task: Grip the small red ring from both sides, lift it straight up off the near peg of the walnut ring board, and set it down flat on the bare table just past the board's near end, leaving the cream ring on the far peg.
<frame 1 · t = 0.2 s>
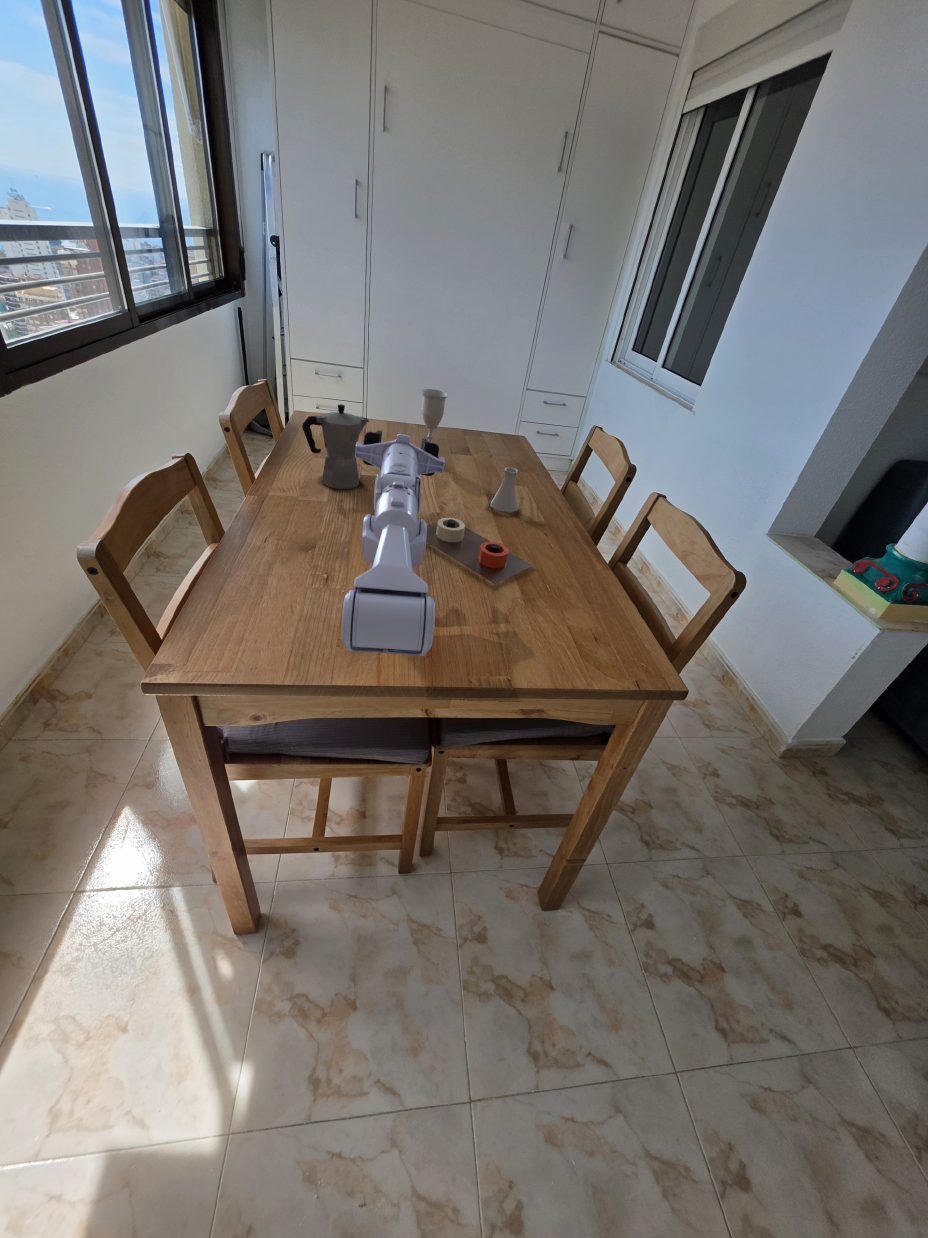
hand: (401, 439, 94), 21 cm above the table, tool horizontal, fingers open, 7 cm apart
ring board: (469, 552, 109), on the table
chalice: (427, 461, 149), on the table
red ring: (492, 560, 106), point 1 cm above the table, touching ring board
cream ring: (449, 535, 112), point 1 cm above the table, touching ring board
coffeepot: (336, 483, 128), on the table
flask: (503, 510, 129), on the table
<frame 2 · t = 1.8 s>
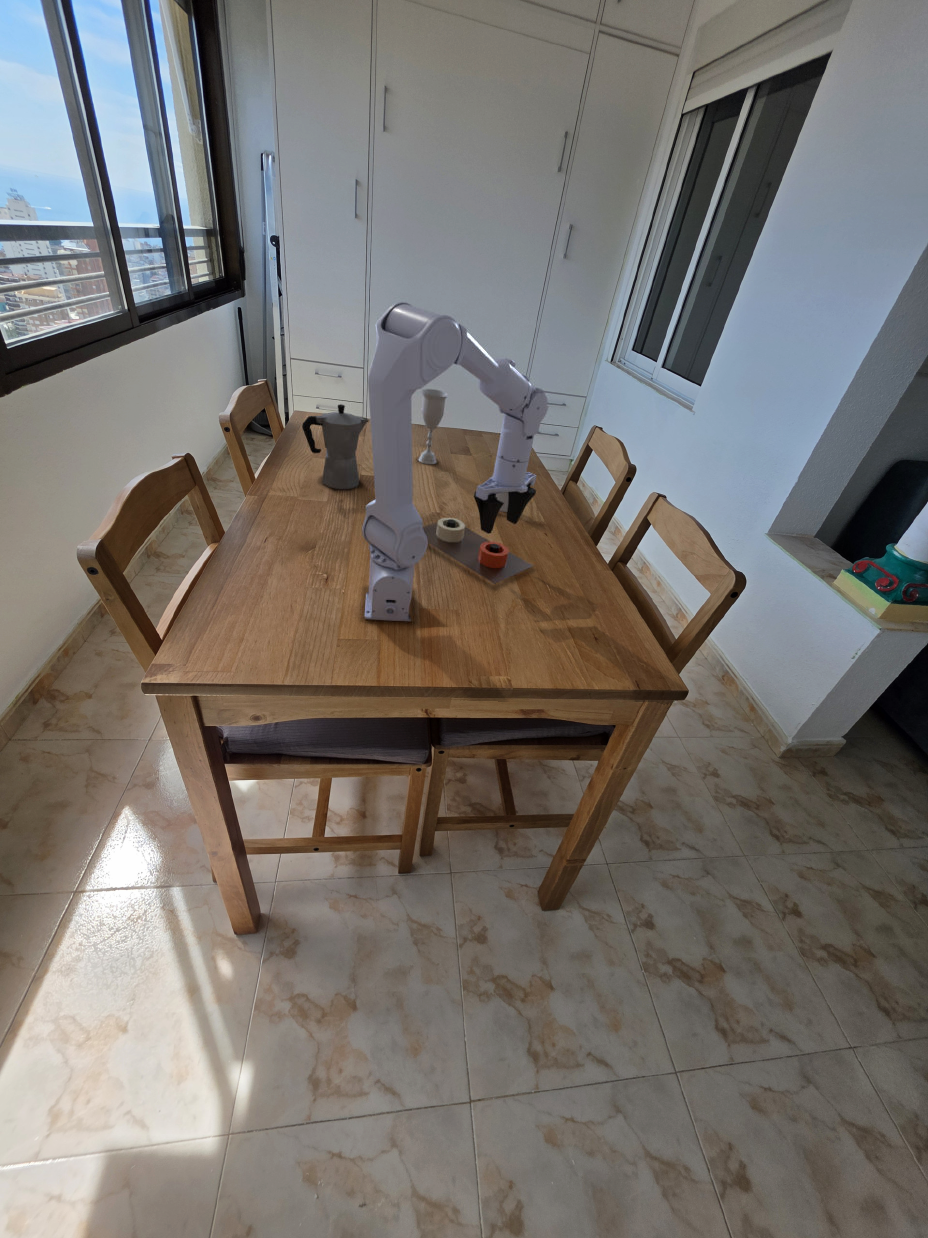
hand: (499, 526, 101), 9 cm above the table, tool pointing down, fingers open, 7 cm apart
nothing on the table moved.
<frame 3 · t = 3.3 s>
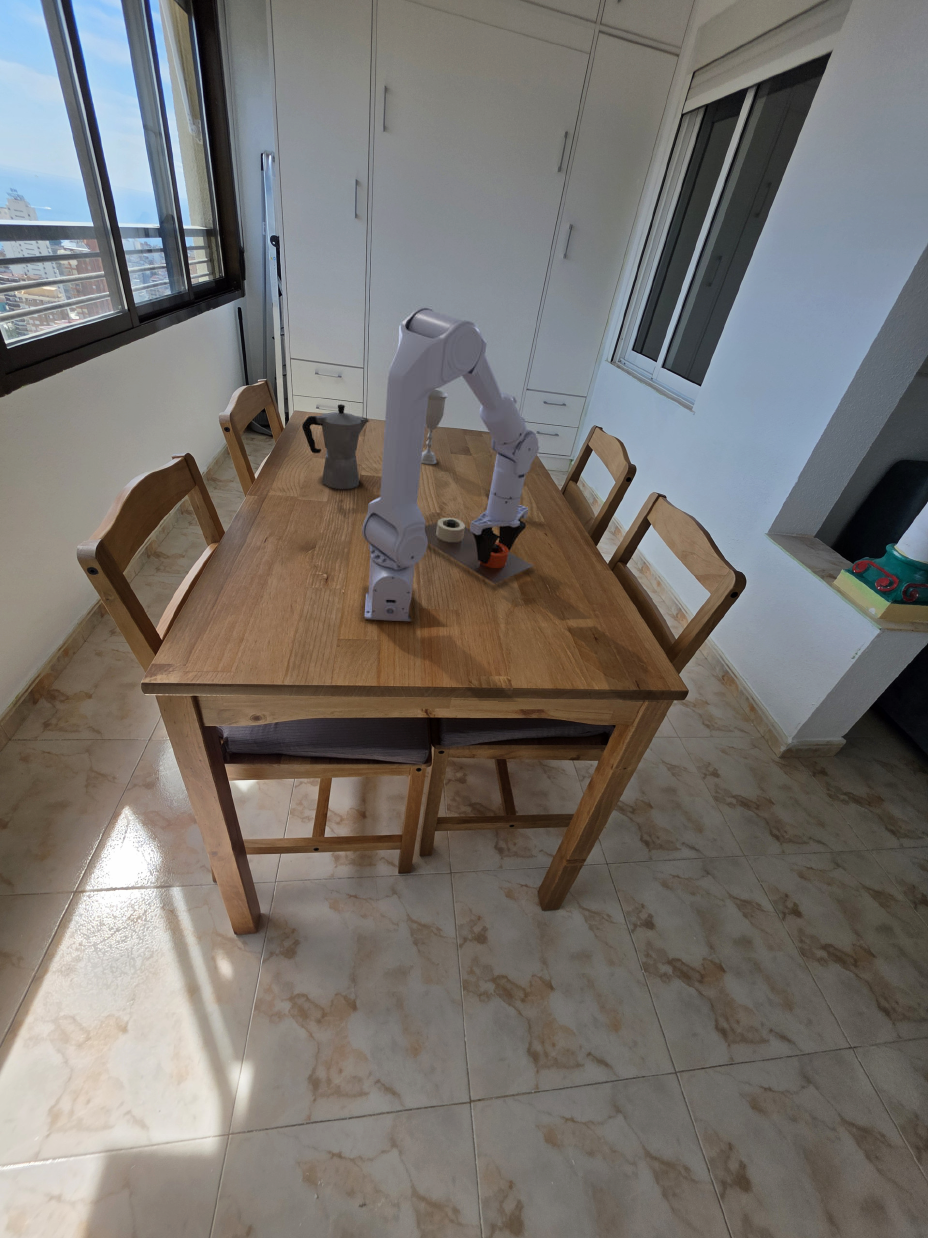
hand: (492, 557, 105), 2 cm above the table, tool pointing down, fingers closed on red ring, 5 cm apart
red ring: (492, 560, 106), point 1 cm above the table, touching gripper, ring board
everything else where it was.
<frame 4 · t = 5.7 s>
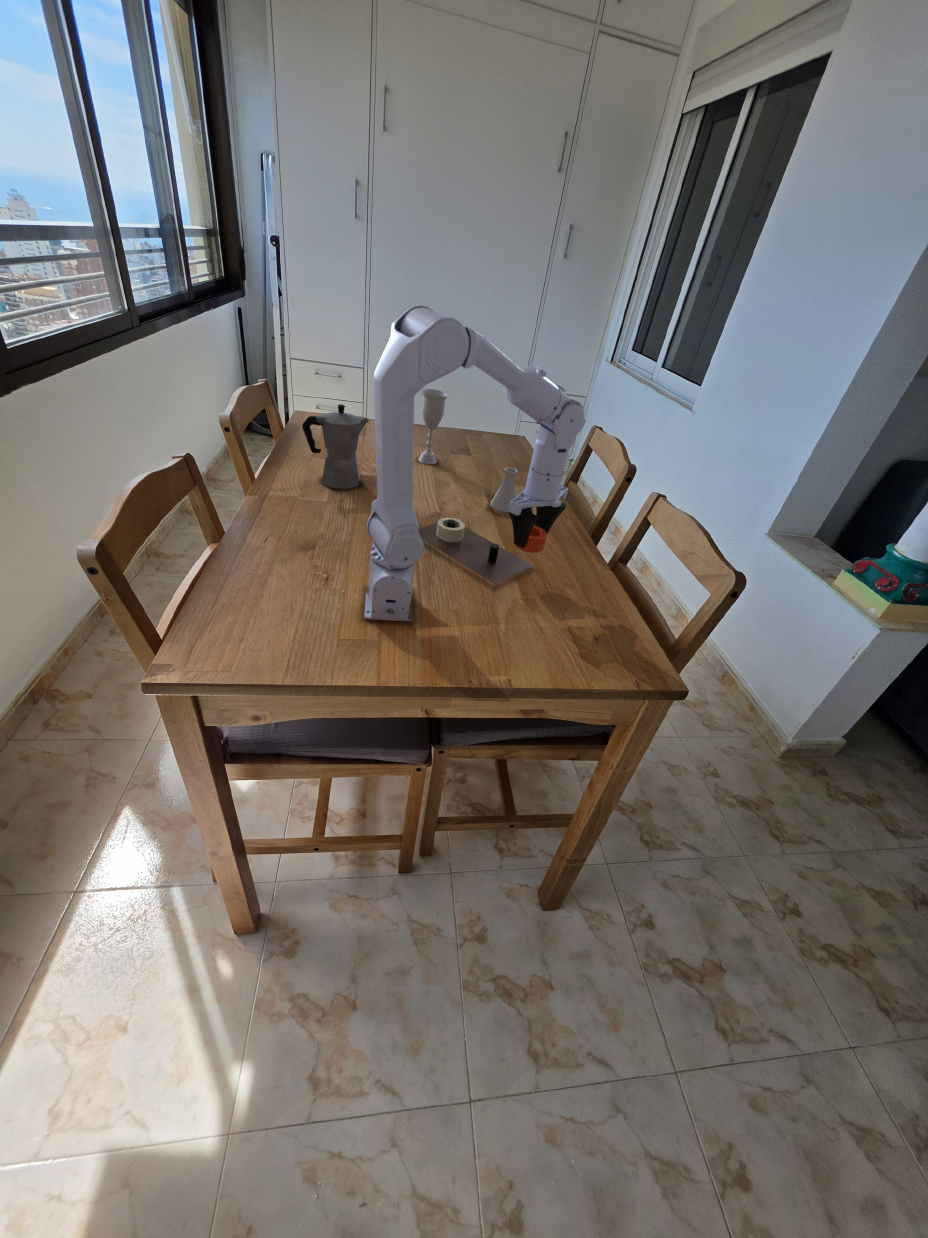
hand: (529, 541, 98), 9 cm above the table, tool pointing down, fingers closed on red ring, 5 cm apart
red ring: (528, 545, 98), point 8 cm above the table, touching gripper
everything else where it was.
when the fingers open (1 cm above the table, at t = 8.5 s): red ring stays where it is, on the table.
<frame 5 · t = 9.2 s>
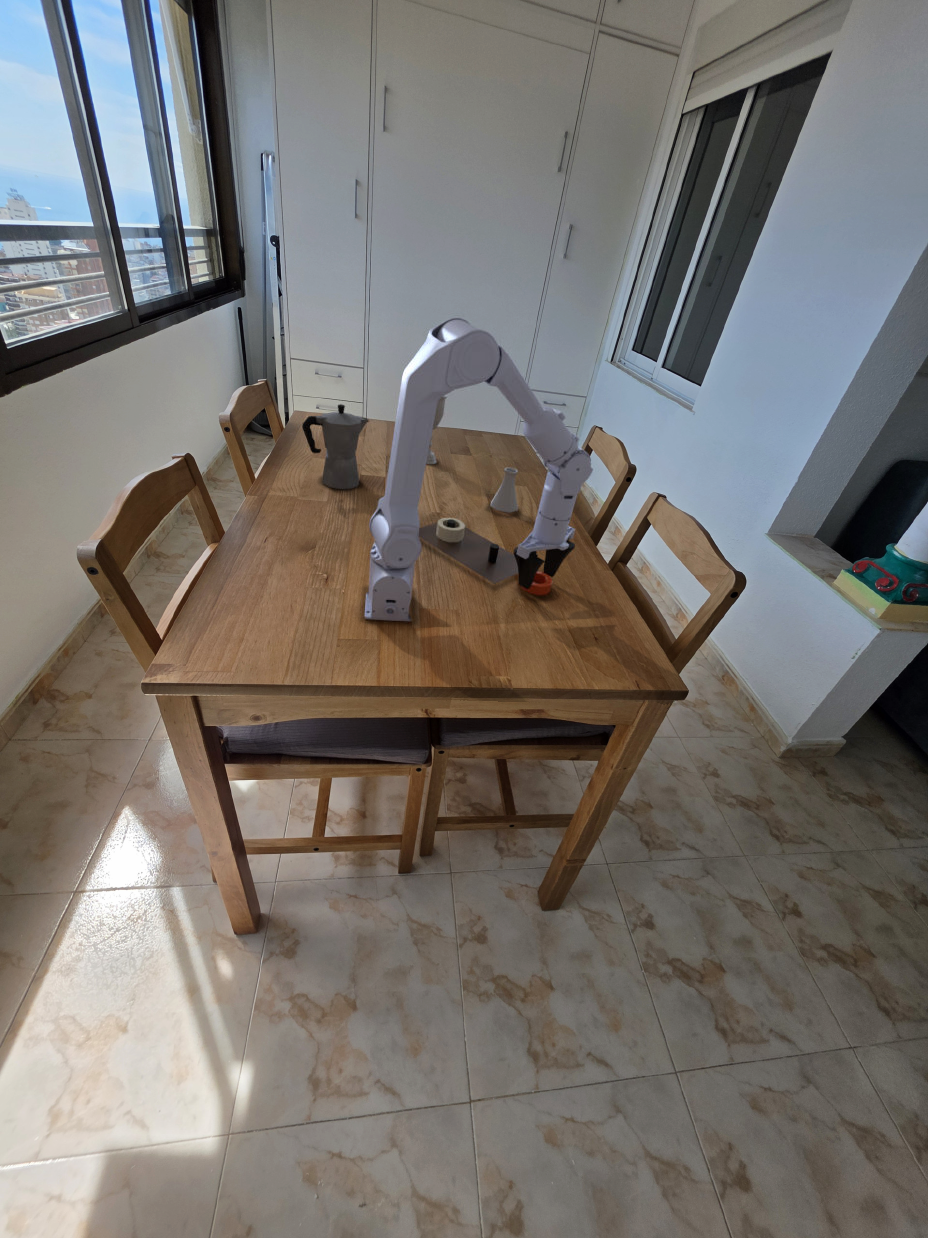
hand: (536, 580, 100), 2 cm above the table, tool pointing down, fingers open, 7 cm apart
red ring: (534, 590, 101), on the table
everything else where it was.
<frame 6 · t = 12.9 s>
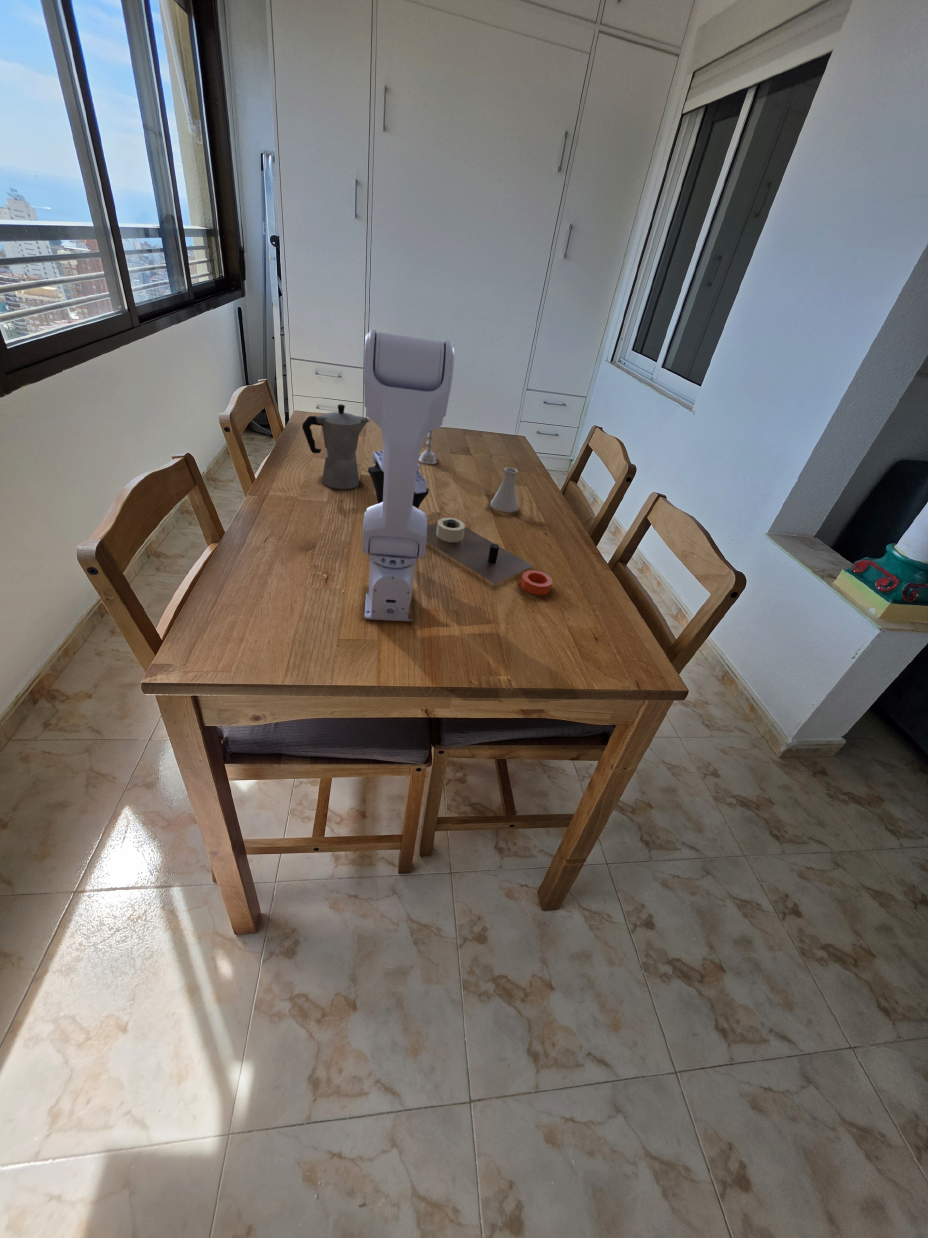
hand: (395, 514, 97), 9 cm above the table, tool pointing down, fingers open, 7 cm apart
nothing on the table moved.
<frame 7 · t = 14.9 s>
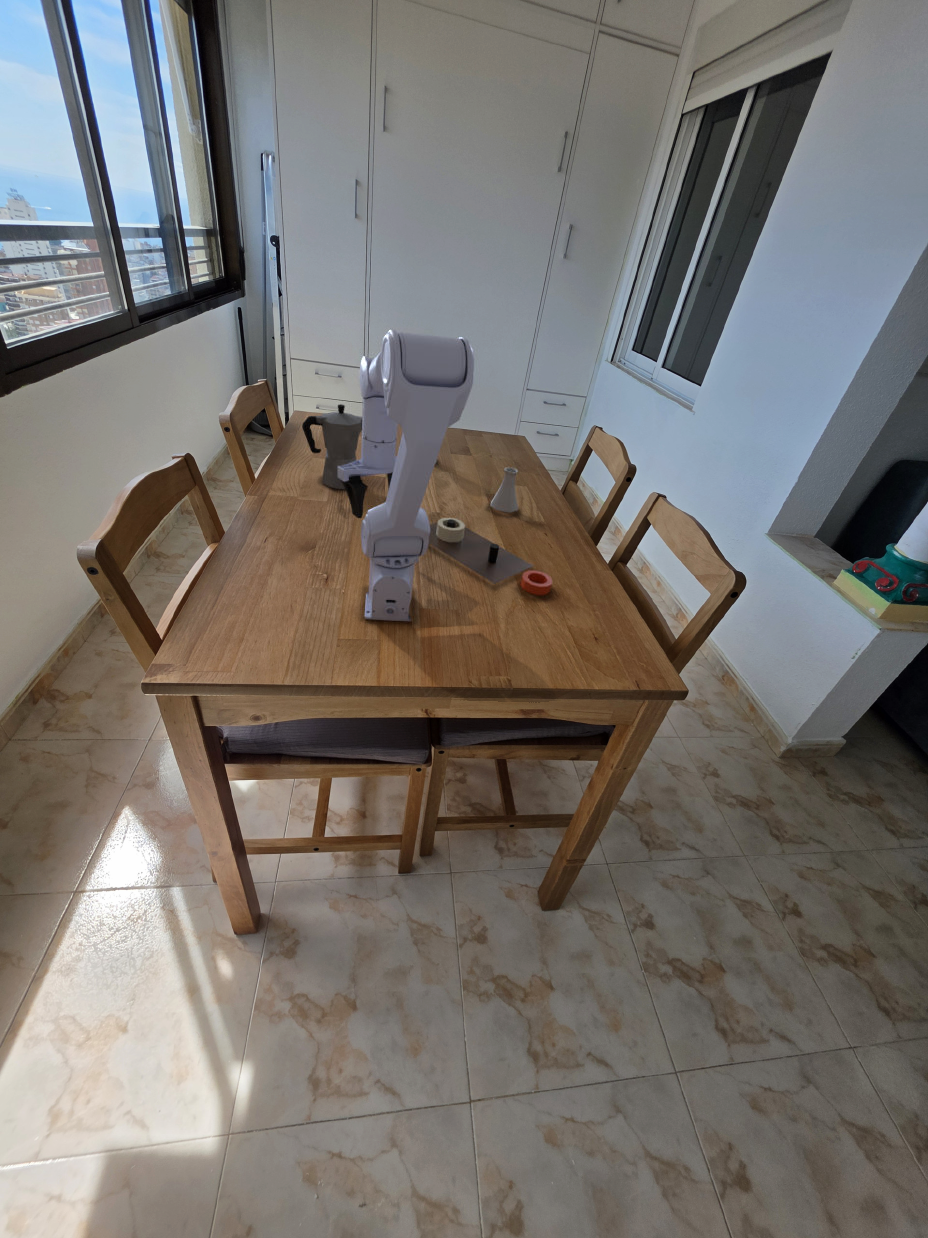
hand: (375, 512, 97), 9 cm above the table, tool pointing down, fingers open, 7 cm apart
nothing on the table moved.
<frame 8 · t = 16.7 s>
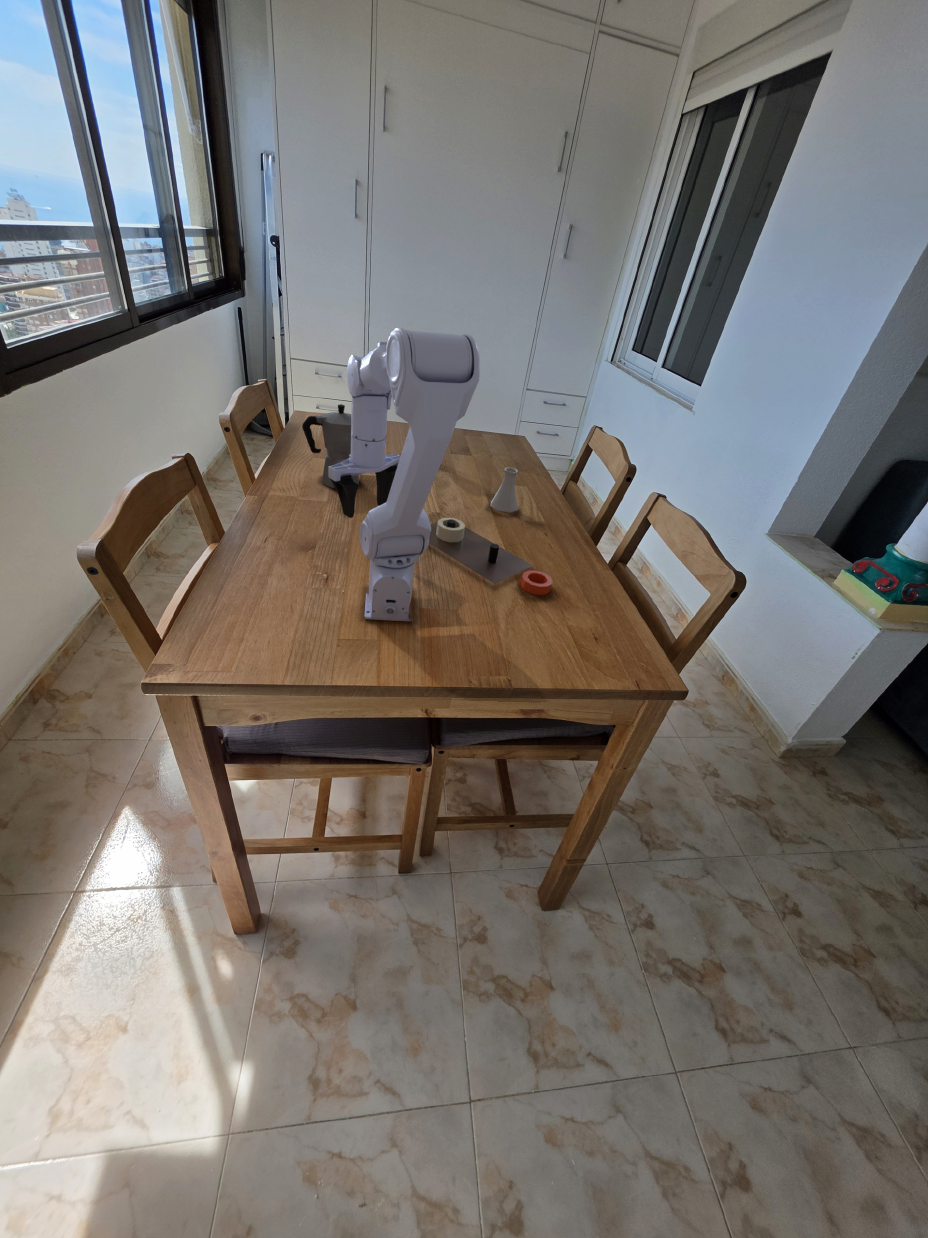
hand: (365, 510, 97), 9 cm above the table, tool pointing down, fingers open, 7 cm apart
nothing on the table moved.
at the end: red ring 0.1 cm from the target spot, on the table; red ring tilted 0°; cream ring moved 0.0 cm from its start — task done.
